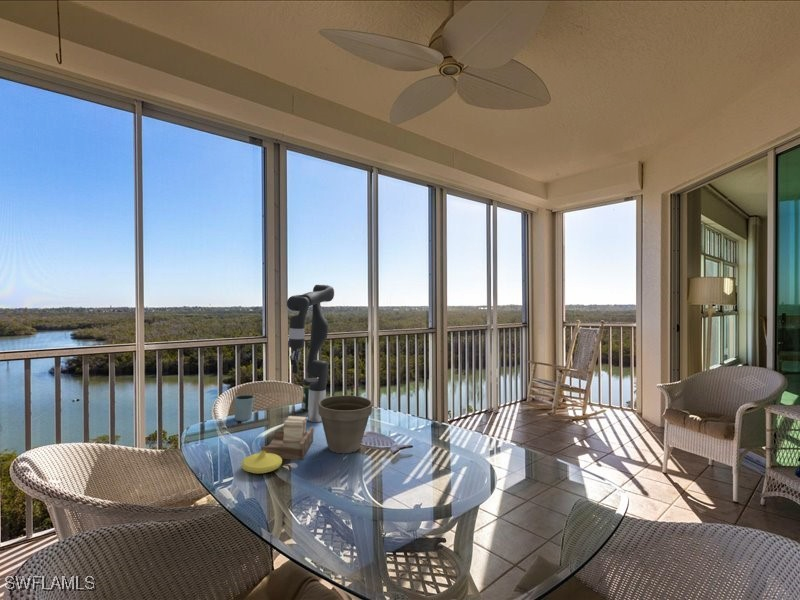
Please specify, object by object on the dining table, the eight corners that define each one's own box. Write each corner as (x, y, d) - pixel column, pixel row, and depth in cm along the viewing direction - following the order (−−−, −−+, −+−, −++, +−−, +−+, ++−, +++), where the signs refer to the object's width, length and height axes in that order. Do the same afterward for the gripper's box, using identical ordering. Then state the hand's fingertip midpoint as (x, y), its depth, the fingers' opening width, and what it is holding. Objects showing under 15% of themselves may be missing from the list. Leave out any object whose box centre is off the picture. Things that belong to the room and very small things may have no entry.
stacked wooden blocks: (287, 441, 192) (288, 415, 192) (305, 442, 192) (306, 416, 192) (282, 448, 184) (283, 421, 184) (301, 449, 184) (302, 422, 184)
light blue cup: (229, 419, 223) (230, 397, 223) (241, 414, 233) (242, 393, 232) (245, 422, 220) (246, 400, 220) (257, 417, 230) (258, 395, 229)
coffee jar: (314, 405, 256) (316, 376, 256) (319, 409, 250) (321, 378, 249) (299, 407, 251) (301, 377, 250) (304, 411, 244) (305, 380, 244)
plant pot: (318, 460, 178) (320, 410, 177) (314, 439, 202) (316, 395, 201) (374, 457, 185) (377, 409, 184) (364, 437, 208) (367, 394, 208)
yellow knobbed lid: (267, 457, 178) (268, 441, 178) (289, 469, 168) (290, 452, 168) (233, 468, 166) (234, 451, 166) (254, 482, 156) (255, 463, 156)
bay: (275, 439, 199) (276, 425, 199) (312, 441, 199) (313, 427, 199) (260, 457, 178) (261, 441, 178) (302, 459, 178) (303, 443, 178)
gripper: (301, 339, 194) (299, 376, 195) (307, 336, 207) (305, 370, 208) (285, 338, 194) (283, 375, 195) (292, 335, 207) (290, 369, 208)
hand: (295, 372), depth 201 cm, fingers closed
